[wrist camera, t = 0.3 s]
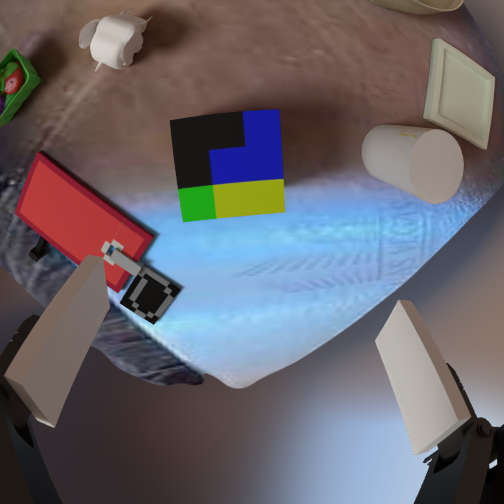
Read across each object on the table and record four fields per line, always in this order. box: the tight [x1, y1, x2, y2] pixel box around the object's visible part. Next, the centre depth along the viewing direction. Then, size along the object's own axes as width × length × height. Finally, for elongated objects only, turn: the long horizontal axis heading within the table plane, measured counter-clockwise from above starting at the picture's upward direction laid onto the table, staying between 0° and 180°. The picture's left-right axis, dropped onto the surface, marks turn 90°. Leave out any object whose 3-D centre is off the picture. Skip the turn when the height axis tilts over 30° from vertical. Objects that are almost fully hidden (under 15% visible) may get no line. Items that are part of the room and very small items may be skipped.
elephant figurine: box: [79, 8, 153, 71], centre depth 24 cm, size 8×10×7 cm
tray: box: [423, 38, 495, 150], centre depth 31 cm, size 14×14×2 cm
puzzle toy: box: [170, 109, 285, 222], centre depth 31 cm, size 10×10×10 cm
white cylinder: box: [362, 124, 464, 204], centre depth 30 cm, size 8×8×12 cm
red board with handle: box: [15, 152, 180, 325], centre depth 38 cm, size 30×3×15 cm
